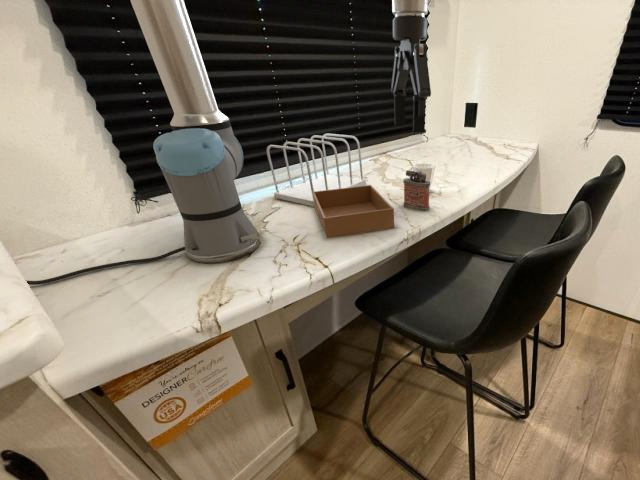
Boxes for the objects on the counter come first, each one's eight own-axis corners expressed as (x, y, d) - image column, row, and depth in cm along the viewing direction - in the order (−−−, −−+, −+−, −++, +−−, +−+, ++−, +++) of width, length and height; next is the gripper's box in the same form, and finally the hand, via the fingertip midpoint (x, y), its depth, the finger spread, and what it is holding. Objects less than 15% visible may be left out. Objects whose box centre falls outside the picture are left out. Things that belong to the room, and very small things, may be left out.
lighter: (431, 208, 93) (433, 171, 87) (425, 211, 90) (427, 174, 85) (407, 203, 96) (407, 168, 90) (401, 206, 94) (400, 170, 88)
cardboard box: (326, 238, 77) (323, 218, 74) (315, 209, 93) (312, 191, 90) (394, 227, 82) (393, 208, 79) (372, 201, 98) (370, 184, 95)
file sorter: (328, 178, 119) (322, 131, 110) (366, 185, 111) (363, 135, 102) (274, 198, 102) (261, 143, 93) (315, 208, 94) (305, 149, 85)
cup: (423, 196, 101) (424, 169, 96) (401, 189, 107) (401, 163, 102) (438, 191, 105) (440, 165, 100) (417, 185, 111) (417, 160, 106)
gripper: (452, 9, 61) (443, 135, 73) (406, 23, 80) (405, 121, 92) (415, 7, 59) (412, 136, 71) (377, 22, 78) (380, 122, 90)
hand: (408, 128), depth 82 cm, fingers open, 13 cm apart
